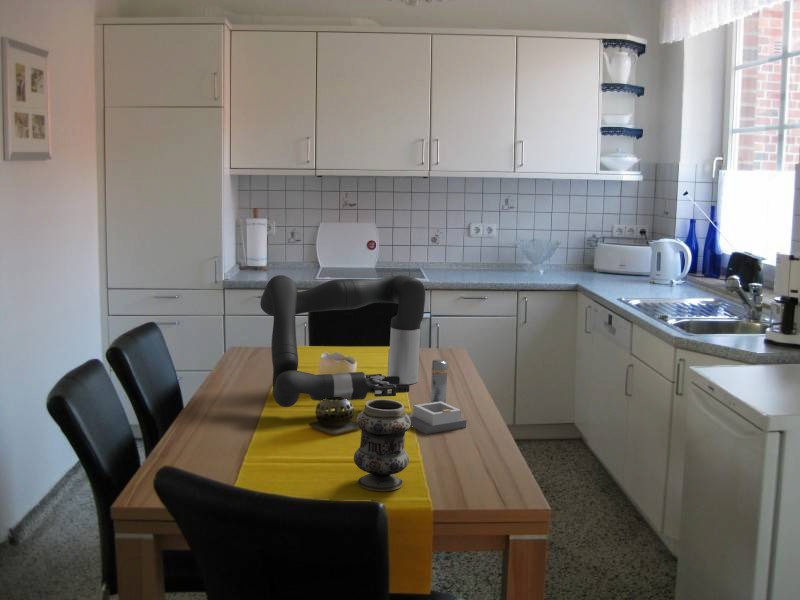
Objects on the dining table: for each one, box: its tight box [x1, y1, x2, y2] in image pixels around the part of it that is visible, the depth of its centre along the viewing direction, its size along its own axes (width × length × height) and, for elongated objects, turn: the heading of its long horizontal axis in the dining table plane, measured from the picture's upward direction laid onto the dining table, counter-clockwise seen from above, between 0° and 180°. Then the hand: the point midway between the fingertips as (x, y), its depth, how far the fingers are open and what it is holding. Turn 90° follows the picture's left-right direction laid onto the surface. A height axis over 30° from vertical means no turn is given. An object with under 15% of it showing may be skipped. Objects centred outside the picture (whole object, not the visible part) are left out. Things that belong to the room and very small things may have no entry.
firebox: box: [406, 401, 468, 435], centre depth 235 cm, size 11×13×6 cm
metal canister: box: [429, 359, 449, 404], centre depth 249 cm, size 5×5×14 cm
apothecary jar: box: [353, 398, 411, 492], centre depth 191 cm, size 12×12×18 cm
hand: (404, 384), depth 245 cm, fingers open, 8 cm apart
